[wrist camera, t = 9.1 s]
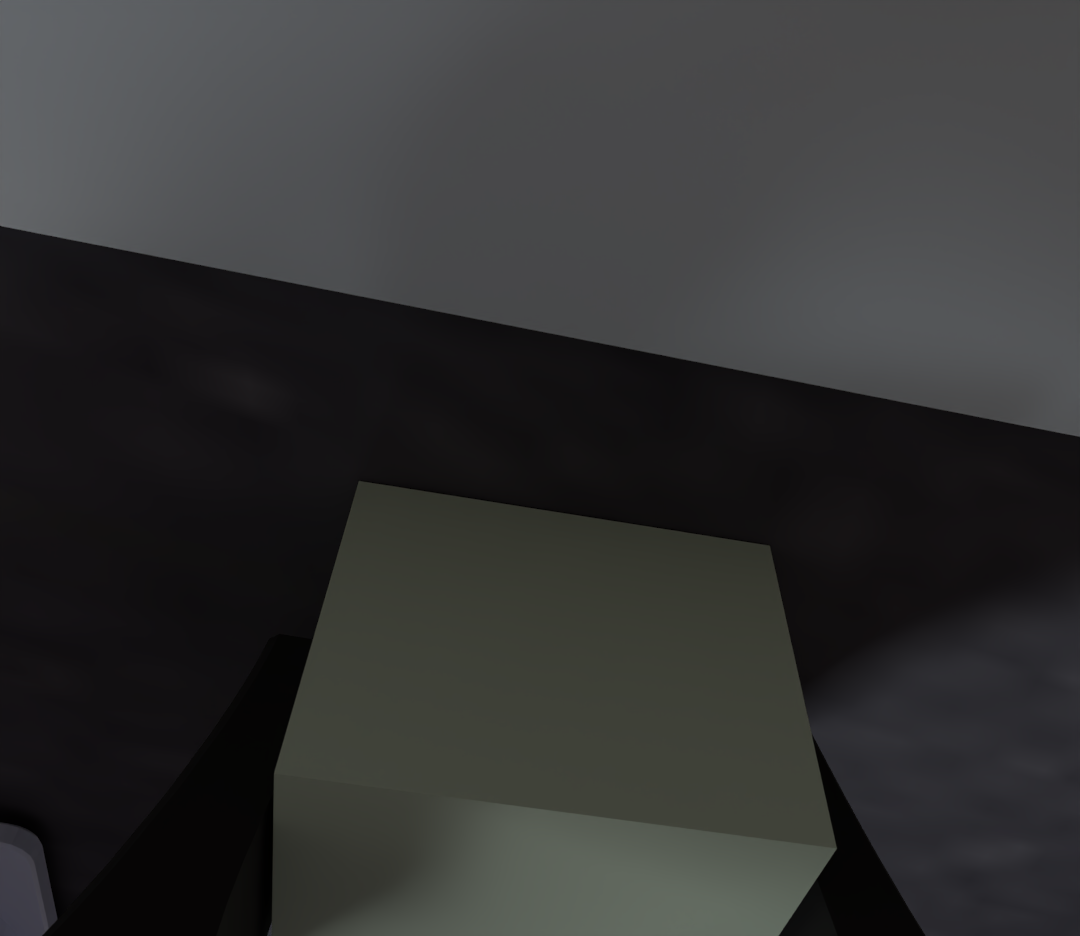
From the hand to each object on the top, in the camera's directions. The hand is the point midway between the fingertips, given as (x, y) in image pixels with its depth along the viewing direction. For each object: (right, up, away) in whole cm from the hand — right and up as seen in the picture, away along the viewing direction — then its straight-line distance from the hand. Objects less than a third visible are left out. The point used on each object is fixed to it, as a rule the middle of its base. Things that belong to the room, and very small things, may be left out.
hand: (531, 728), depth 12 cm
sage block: (0, +1, +1) cm, 1 cm away
